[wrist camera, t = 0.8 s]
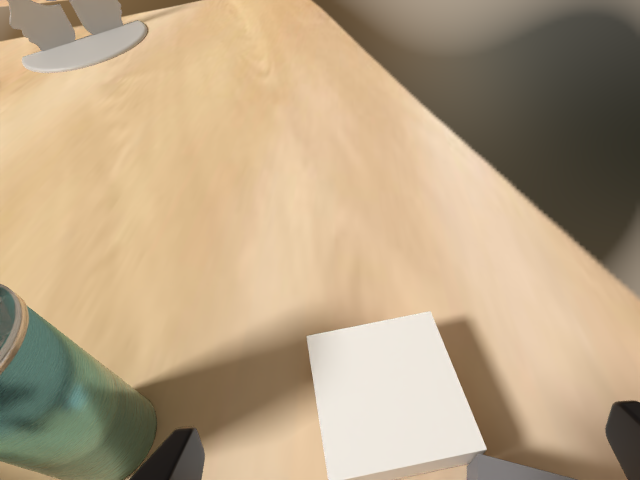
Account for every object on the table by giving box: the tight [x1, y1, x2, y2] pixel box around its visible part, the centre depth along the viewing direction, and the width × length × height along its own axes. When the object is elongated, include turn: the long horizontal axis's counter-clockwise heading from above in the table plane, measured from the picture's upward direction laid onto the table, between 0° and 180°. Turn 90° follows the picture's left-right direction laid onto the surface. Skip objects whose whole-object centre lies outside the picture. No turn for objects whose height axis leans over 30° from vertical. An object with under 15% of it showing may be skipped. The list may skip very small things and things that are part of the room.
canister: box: [0, 284, 157, 480], centre depth 19 cm, size 6×6×13 cm
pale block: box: [306, 311, 487, 480], centre depth 23 cm, size 8×8×3 cm
